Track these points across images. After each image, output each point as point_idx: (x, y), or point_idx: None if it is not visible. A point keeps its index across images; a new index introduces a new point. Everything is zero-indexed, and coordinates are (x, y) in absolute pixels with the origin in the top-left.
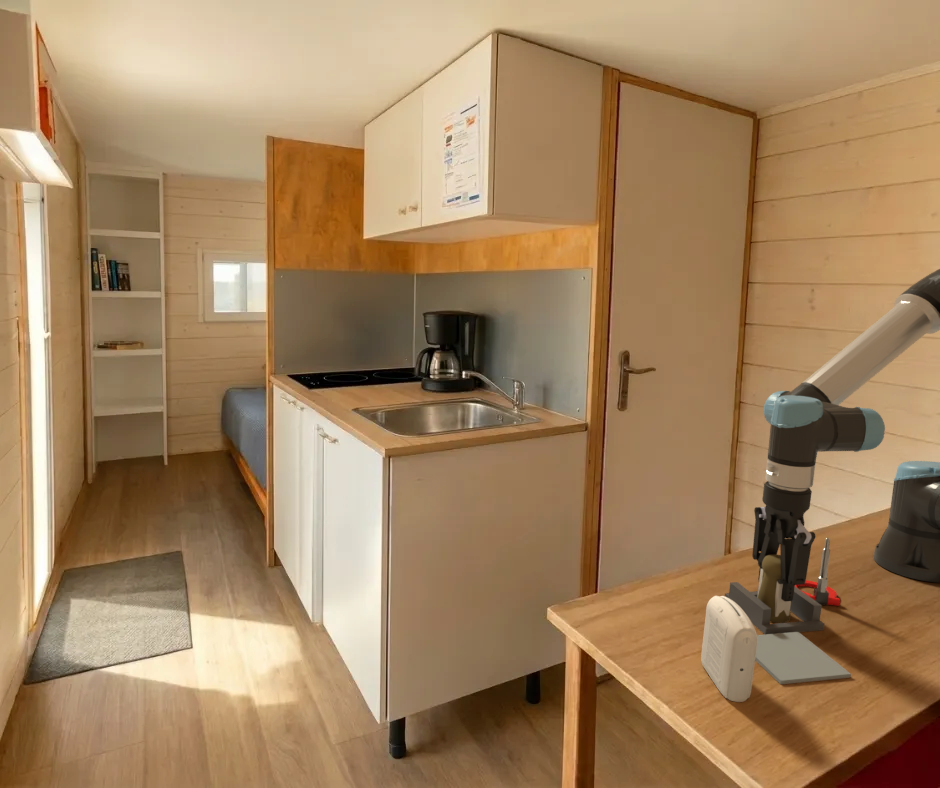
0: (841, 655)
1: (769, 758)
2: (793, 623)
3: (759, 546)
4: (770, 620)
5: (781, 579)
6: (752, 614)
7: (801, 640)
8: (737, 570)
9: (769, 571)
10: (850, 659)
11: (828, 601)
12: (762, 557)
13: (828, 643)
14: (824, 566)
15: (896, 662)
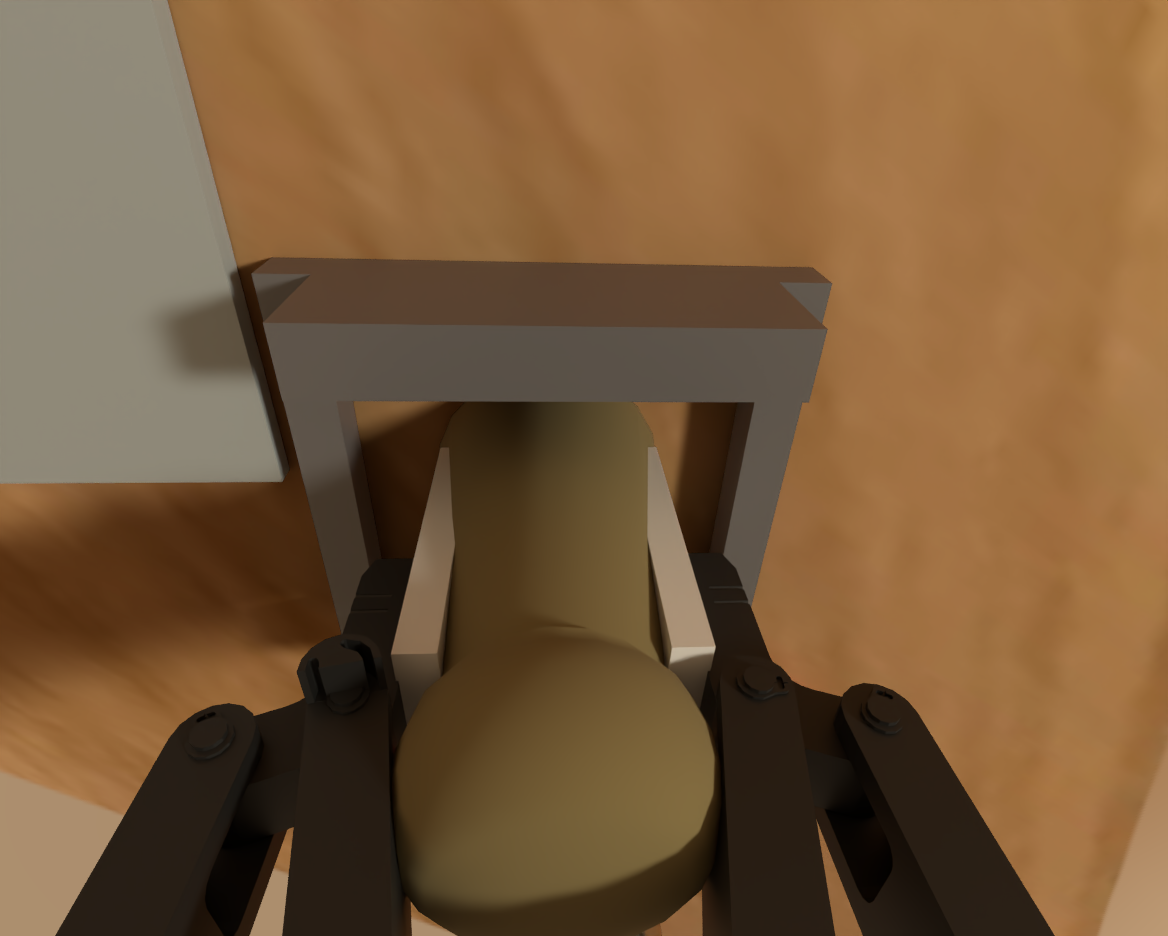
0: (83, 557)
1: None
2: (341, 501)
3: (907, 879)
4: (461, 409)
5: (362, 691)
6: (439, 282)
7: (164, 438)
8: (1066, 570)
9: (484, 676)
10: (48, 574)
11: None
12: (754, 769)
13: (211, 566)
14: None
15: (78, 720)
